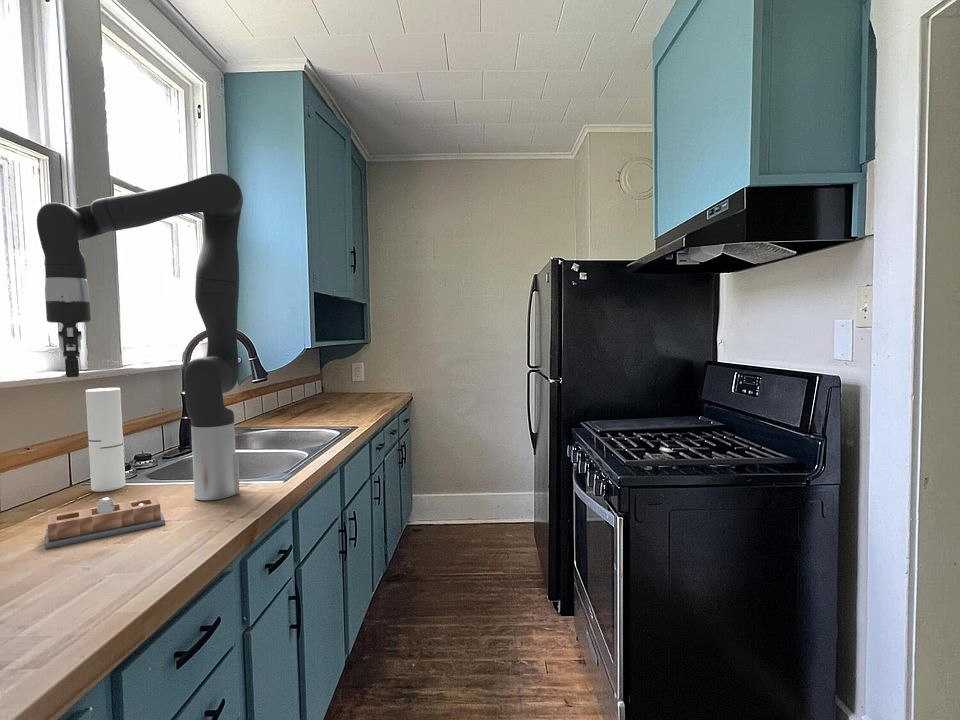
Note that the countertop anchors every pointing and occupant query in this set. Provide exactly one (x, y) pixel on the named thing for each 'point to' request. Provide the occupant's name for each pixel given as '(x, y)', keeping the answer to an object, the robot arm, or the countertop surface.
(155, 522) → the post plate
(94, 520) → the wooden block with holes
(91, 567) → the countertop surface
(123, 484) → the cylindrical container
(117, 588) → the countertop surface
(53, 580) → the countertop surface
